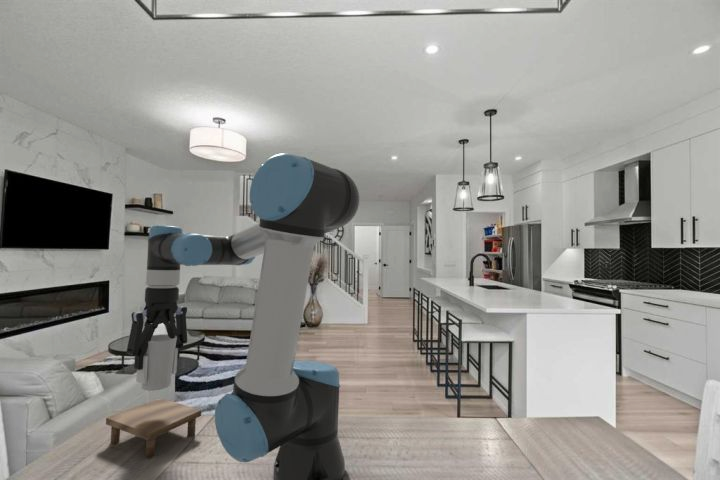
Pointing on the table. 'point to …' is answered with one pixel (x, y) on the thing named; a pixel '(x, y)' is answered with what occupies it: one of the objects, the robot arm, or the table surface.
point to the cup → (159, 362)
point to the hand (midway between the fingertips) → (157, 377)
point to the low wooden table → (153, 421)
